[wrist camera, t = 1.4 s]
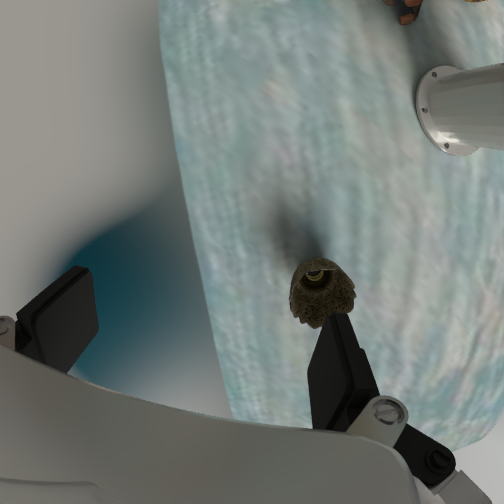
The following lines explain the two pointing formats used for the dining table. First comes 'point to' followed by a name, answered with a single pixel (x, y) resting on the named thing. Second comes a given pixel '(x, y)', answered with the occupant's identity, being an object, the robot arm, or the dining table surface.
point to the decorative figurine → (475, 0)
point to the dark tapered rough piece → (320, 292)
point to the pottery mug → (411, 1)
